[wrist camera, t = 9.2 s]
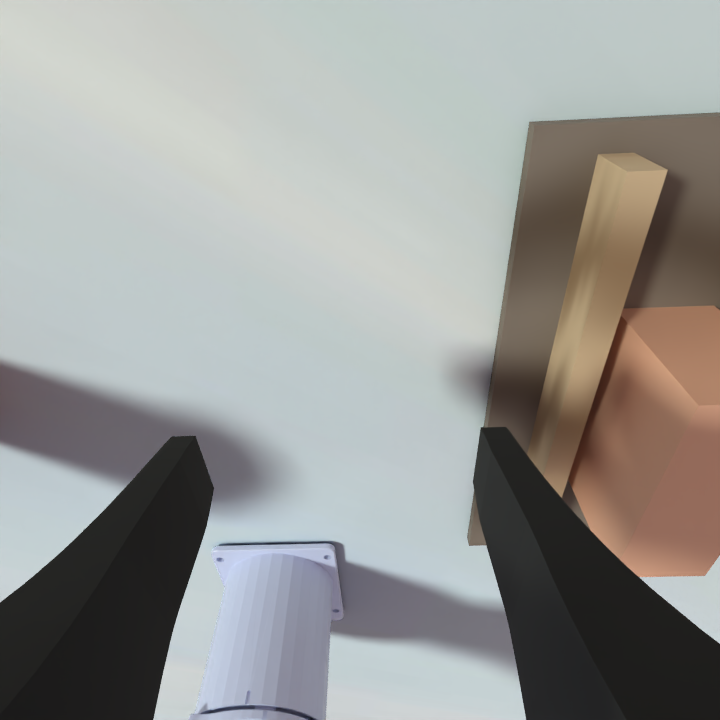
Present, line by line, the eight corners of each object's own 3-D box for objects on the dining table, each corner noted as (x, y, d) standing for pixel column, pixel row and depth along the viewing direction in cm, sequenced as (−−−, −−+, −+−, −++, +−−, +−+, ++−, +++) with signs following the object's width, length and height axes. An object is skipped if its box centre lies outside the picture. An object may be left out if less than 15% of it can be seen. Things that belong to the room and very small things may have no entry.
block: (615, 308, 20) (698, 405, 15) (714, 305, 19) (830, 402, 15) (564, 470, 25) (611, 577, 21) (639, 468, 25) (704, 575, 21)
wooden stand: (675, 532, 30) (700, 574, 27) (467, 536, 30) (475, 579, 28) (927, 102, 16) (1022, 116, 13) (529, 121, 16) (556, 140, 14)
